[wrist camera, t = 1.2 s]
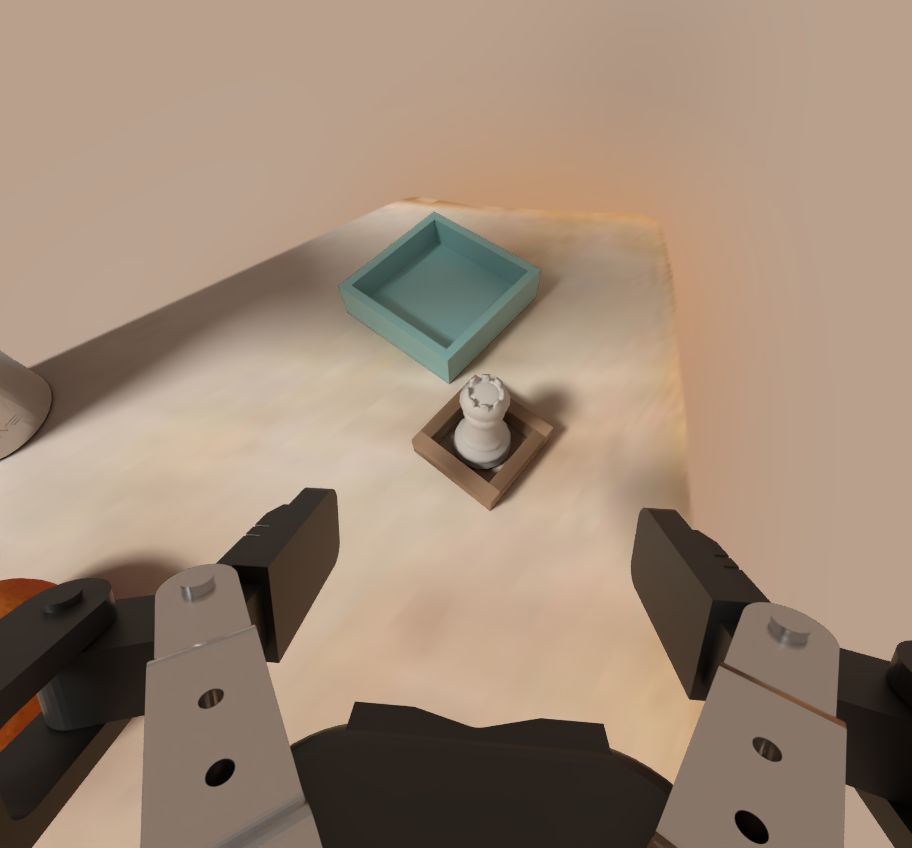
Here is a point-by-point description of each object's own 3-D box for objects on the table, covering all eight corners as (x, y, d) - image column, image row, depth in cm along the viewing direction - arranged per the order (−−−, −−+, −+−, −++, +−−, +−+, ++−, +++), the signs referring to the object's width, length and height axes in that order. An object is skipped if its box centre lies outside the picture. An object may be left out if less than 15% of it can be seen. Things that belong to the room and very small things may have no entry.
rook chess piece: (446, 463, 34) (440, 413, 27) (462, 414, 36) (460, 355, 29) (503, 477, 33) (513, 429, 26) (515, 427, 35) (527, 369, 28)
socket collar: (414, 450, 34) (411, 439, 32) (475, 388, 37) (475, 374, 35) (490, 510, 32) (491, 502, 30) (549, 439, 34) (553, 427, 33)
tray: (347, 312, 41) (338, 286, 38) (436, 240, 45) (433, 211, 42) (449, 383, 37) (447, 360, 34) (536, 296, 41) (541, 269, 38)
